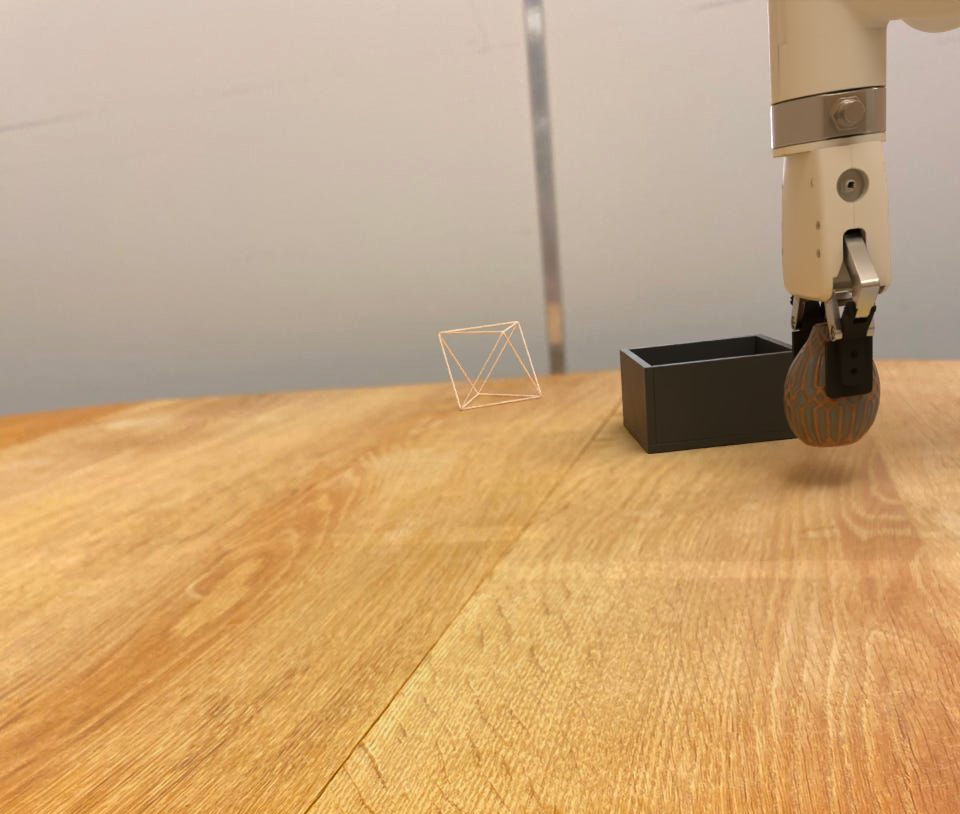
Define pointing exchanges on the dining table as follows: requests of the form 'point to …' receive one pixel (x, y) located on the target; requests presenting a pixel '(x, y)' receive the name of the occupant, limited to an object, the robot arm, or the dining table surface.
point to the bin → (706, 392)
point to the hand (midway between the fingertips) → (830, 386)
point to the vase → (825, 399)
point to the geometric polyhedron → (492, 366)
